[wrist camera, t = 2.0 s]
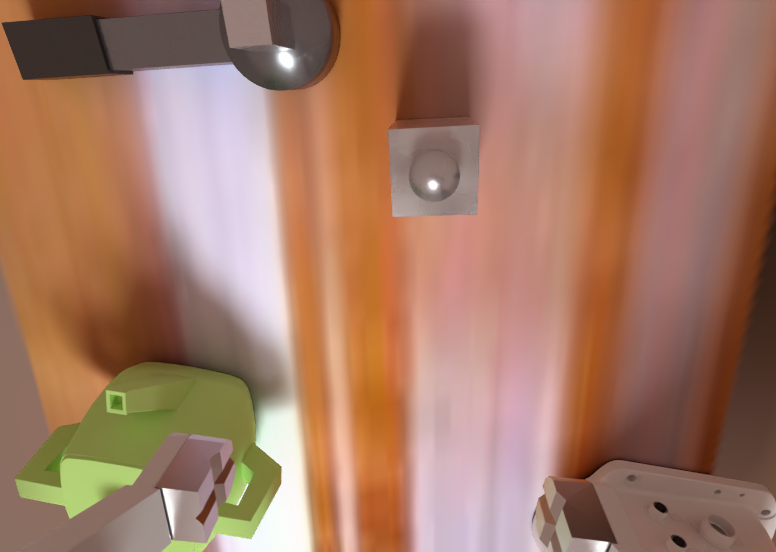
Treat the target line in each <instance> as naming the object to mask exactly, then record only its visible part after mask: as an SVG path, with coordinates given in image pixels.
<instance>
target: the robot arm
mask: <svg viewBox="0 0 776 552" xmlns="http://www.w3.org/2000/svg"><path fill="white" fill-rule="evenodd" d="M232 451H233V446H232V440H228V439H222V438H215V437H208V436H201V435H194V434H185V433H178V432H173V433H171V434H170V435H169V436H167V438H166V439H165V440H164V442H163V443H162V445H161V446H160V447H159V449H158V450H157V451H156V453H155V454H154V456H153V457H152V458H151V460H150V461H149V463H148V464H147V465H146V467H145V468H144V469H143V471H142V472H141V474H140V475H139V476H138V478H137V479H136V481H135V482H134V483H133V485H125V486H123V487H122V488H120V489H118V490H117V491H115V492H114V493H112V494H110V495H109V496H107V497H105V498H104V499H102V500H100V501H99V502H97V503H95V504H94V505H92V506H91V507H89V508H87V509H86V510H84V511H82V512H81V513H79V514H77V515H76V516H74V517H72V518H71V519H69V520H68V521H66V522H64V523H63V524H61V525H59V526H58V527H56V528H54V529H53V530H51V531H49V532H48V533H46V534H44V535H43V536H41V537H39V538H38V539H36V540H35V541H33V542H31V543H30V544H28V545H26V546H25V547H23V548H21V549H20V550H18V551H17V552H161V551H163V550H164V549H165V548H166V547H167V546H168V545H169V544H170V543H171V542H172V541H171V540H175V541H186V542H196V543H207V541H208V539H209V537H210V535H211V533H212V530H213V528H214V526H215V524H216V522H217V520H218V518H219V517H218V509H217V508H218V507H219V506H220V505H222V504H223V503H224V502H226V501H227V498H228V496H229V494H230V492H231V489H232V485H233V481H234V477H235V462H234V461H233V460H232V459H231V458H230V455H231V453H232ZM543 488H544V492H545V494H544V495H543V496H541V497H540V498H539V499H538V503H537V506H536V514H535V516H534V519H533V523H532V534H533V538H534V540H535V542H536V544H537V546H538V548H539V549H540V551H541V552H776V548H775V546H774V544H773V542H772V538H773V535H774V532H775V529H776V501H775V499H774V497H773V495H772V494H771V492H770V491H769V489H768V488H767V487H766V486H765V485H763V484H759V483H754V482H748V481H742V480H736V479H730V478H725V477H719V476H713V475H707V474H701V473H695V472H689V471H683V470H677V469H671V468H665V467H659V466H653V465H647V464H641V463H635V462H629V461H623V460H614V461H611V462H608V463H606V464H605V465H603V466H602V467H601V468H599V469H598V470H597V471H596V472H595V473H594V474H592V475H591V476H590V477H588V478H587V479H585V480H582V479H572V478H562V477H553V476H548V477H547V478H546V479H545V481H544V484H543Z"/></svg>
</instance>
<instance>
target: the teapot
mask: <svg viewBox="0 0 776 552" xmlns="http://www.w3.org/2000/svg"><path fill="white" fill-rule="evenodd" d="M173 432H178V433H185V434H194V435H201V436H208V437H215V438H222V439H228V440H232V446H233V451H232V453H231V455H230V458H231V459H232V460H233V461H234V462H235V477H234V481H233V485H232V489H231V492H230V494H229V496H228V498H227V501H226V502H224V503H223V504H222V505H220V506H219V507H218V508H217V509H218V517H219V518H218V520H217V522H216V524H215V526H214V528H213V530H212V533H211V535H210V537H209V539H208V541H207V543H196V542H186V541H175V540H171V541H172V542H171V543H170V544H169V545H168V546H167V547H166V548H165V549H164V550H163V551H161V552H202V551H203V550H204V549H205V547H206V546H207V545H208V544H209V543H210V541H211V540H212V539H213V538H214V536H215V535H216V534H223V535H229V536H235V537H241V538H247V539H251V538H252V537H253V535H254V533H255V531H256V529H257V527H258V526H259V524H260V522H261V520H262V518H263V516H264V514H265V513H266V511H267V509H268V507H269V505H270V503H271V502H272V500H273V498H274V496H275V494H276V492H277V491H278V489H279V487H280V485H281V466H280V465H279V464H278V463H276V462H275V461H274V460H273V459H272V458H270V457H269V456H268V455H267V454H266V453H265V452H263V451H262V450H261V449H260V448H259V447H258V446H256V445H255V441H256V430H255V418H254V411H253V405H252V399H251V396H250V392H249V389H248V387H247V385H246V384H245V383H244V381H242V380H241V379H240V378H237V377H235V376H232V375H228V374H224V373H220V372H215V371H211V370H206V369H201V368H196V367H190V366H184V365H177V364H170V363H162V362H143V363H139V364H137V365H134V366H132V367H129V368H127V369H125V370H123V371H122V372H120V373H119V374H118V375H117V376H116V377H115V378H114V379H113V380H112V381H111V382H110V383H109V385H108V386H107V387H106V388H105V389H104V390H103V392H102V393H101V394H100V395H99V397H98V398H97V399H96V400H95V402H94V403H93V405H92V406H91V407H90V409H89V410H88V412H87V413H86V415H85V417H84V418H83V420H82V422H81V423H76V424H71V425H65V426H60V427H58V428H57V429H56V430H55V431H54V433H53V434H52V435H51V436H50V437H49V439H48V440H47V441H46V442H45V443H44V445H43V446H42V447H41V448H40V449H39V450H38V452H37V453H36V454H35V455H34V456H33V457H32V459H31V460H30V461H29V462H28V464H27V465H26V466H25V467H24V468H23V469H22V470H21V472H20V473H19V474H18V475H17V477H15V481H16V484H17V488H18V491H19V494H20V497H23V498H29V499H33V500H38V501H43V502H48V503H53V504H58V505H63V506H65V507H66V510H67V513H68V516H69V518H70V519H71V518H72V517H74V516H76V515H77V514H79V513H81V512H82V511H84V510H86V509H87V508H89V507H91V506H92V505H94V504H95V503H97V502H99V501H100V500H102V499H104V498H105V497H107V496H109V495H110V494H112V493H114V492H115V491H117V490H118V489H120V488H122V487H123V486H125V485H133V483H134V482H135V481H136V479H137V478H138V476H139V475H140V474H141V472H142V471H143V469H144V468H145V467H146V465H147V464H148V463H149V461H150V460H151V458H152V457H153V456H154V454H155V453H156V451H157V450H158V449H159V447H160V446H161V445H162V443H163V442H164V440H165V439H166V438H167V436H169V435H170V434H171V433H173ZM247 483H248V484H249V485H248V487H247V489H246V491H245V493H244V495H243V497H242V499H241V501H240V503H239V505H238V506H237V505H236V504H237V503H238V501H239V499H240V497H241V495H242V493H243V491H244V489H245V487H246V485H247Z"/></svg>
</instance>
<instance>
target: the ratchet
mask: <svg viewBox="0 0 776 552" xmlns="http://www.w3.org/2000/svg"><path fill="white" fill-rule="evenodd" d="M2 25H3V28H4V30H5V33H6V36H7V38H8V41H9V44H10V46H11V49H12V52H13V54H14V57H15V60H16V62H17V65H18V68H19V70H20V73H21V75H22V78H23V80H58V79H72V78H87V77H101V76H116V75H130V74H133V71H141V70H155V69H169V68H183V67H198V66H212V65H226V64H234V66H235V67H236V68H237V69H238V71H239V72H240V73H241V74H242V75H243V76H245V77H246V78H247V79H248V80H250V81H251V82H253V83H255V84H256V85H258V86H261V87H263V88H266V89H270V90H297V89H305V88H308V87H311V86H313V85H316V84H317V83H319V82H320V81H322V80H323V79H324V78H325V77H326V76H327V75H328V73H329V72H330V71H331V69H332V68H333V66H334V64H335V62H336V59H337V56H338V53H339V48H340V27H339V22H338V18H337V15H336V13H335V10H334V8H333V6H332V4H331V3H330V1H329V0H221V4H220V9H217V10H205V11H193V12H181V13H169V14H157V15H145V16H133V17H122V18H110V19H108V18H103V17H98V16H93V15H87V16H76V17H64V18H52V19H41V20H29V21H17V22H5V23H2Z"/></svg>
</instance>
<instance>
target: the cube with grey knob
mask: <svg viewBox="0 0 776 552" xmlns="http://www.w3.org/2000/svg"><path fill="white" fill-rule="evenodd" d="M388 137H389V156H390V174H391V193H392V211H393V217H409V216H442V215H475V214H477V205H478V174H479V142H480V124H478V123H477V122H476V121H475V120H474V119H472V118H471V117H470V116H465V117H447V118H428V119H410V120H396V121H395V122H394V123H393V124H392V125H391V127H390V128H389V129H388Z"/></svg>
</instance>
